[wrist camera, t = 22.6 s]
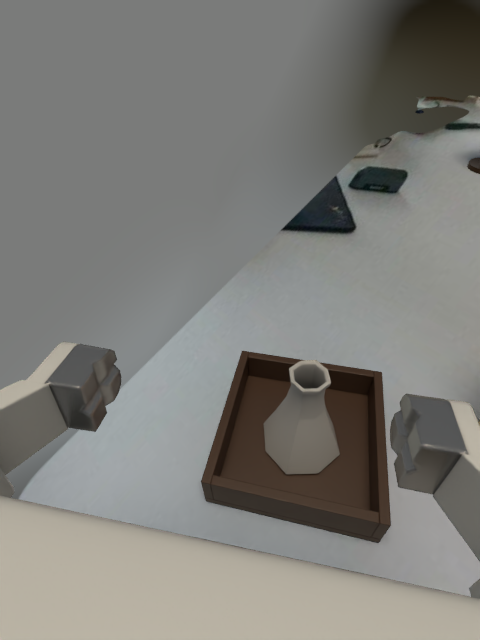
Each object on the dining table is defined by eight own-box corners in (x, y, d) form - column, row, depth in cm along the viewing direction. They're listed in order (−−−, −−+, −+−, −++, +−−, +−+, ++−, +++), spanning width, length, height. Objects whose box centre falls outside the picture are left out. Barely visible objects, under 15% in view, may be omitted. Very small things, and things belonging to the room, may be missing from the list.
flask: (251, 420, 37) (250, 354, 30) (315, 399, 38) (327, 332, 31) (280, 488, 32) (286, 428, 25) (353, 461, 33) (377, 397, 26)
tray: (205, 501, 32) (200, 482, 29) (243, 373, 42) (242, 350, 39) (378, 543, 29) (391, 526, 26) (373, 395, 39) (382, 371, 37)
